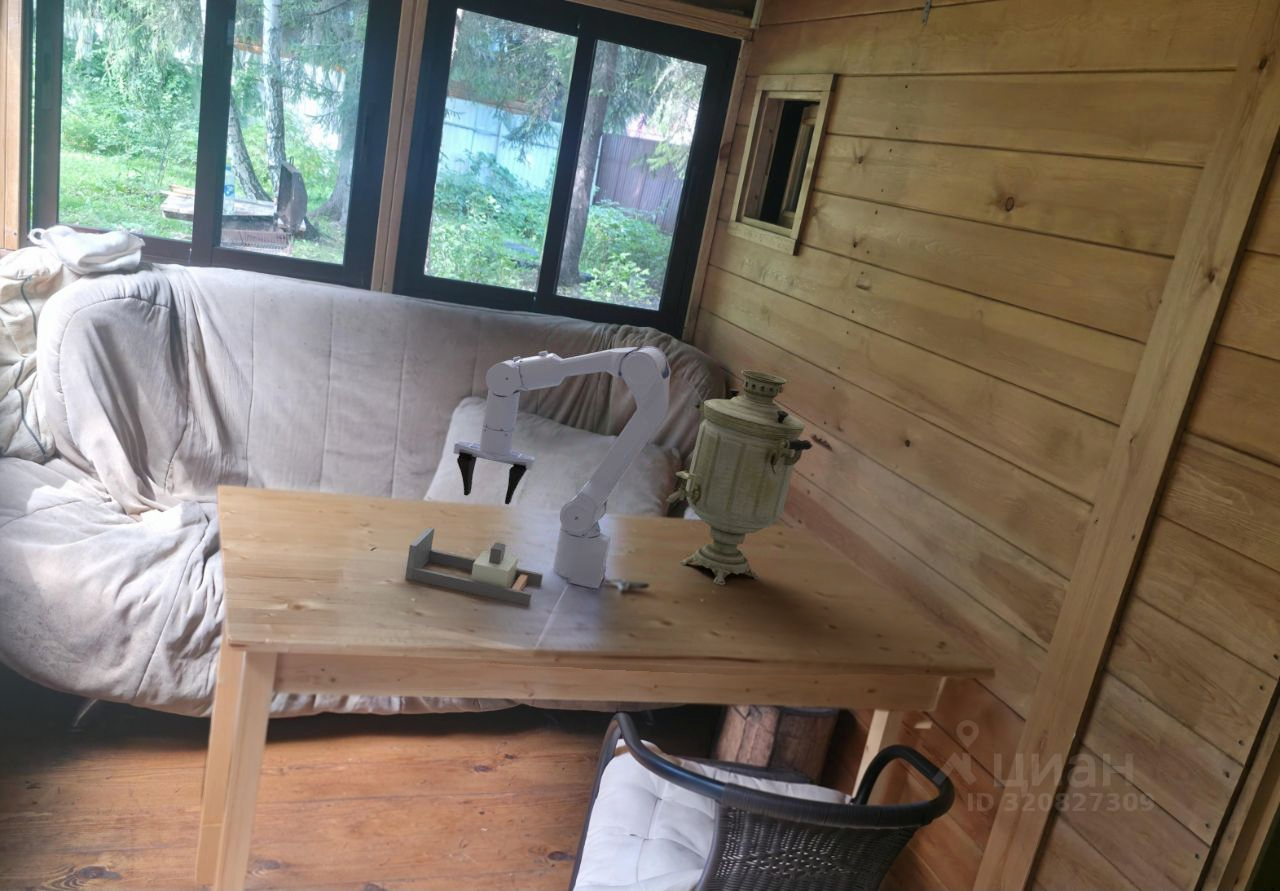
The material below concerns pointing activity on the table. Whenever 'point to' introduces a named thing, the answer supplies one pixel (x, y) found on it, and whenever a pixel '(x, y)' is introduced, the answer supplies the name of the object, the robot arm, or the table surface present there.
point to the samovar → (740, 470)
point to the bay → (423, 553)
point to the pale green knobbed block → (495, 567)
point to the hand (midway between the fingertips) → (487, 498)
